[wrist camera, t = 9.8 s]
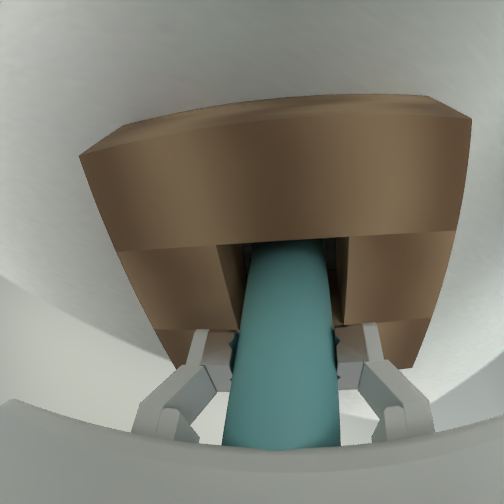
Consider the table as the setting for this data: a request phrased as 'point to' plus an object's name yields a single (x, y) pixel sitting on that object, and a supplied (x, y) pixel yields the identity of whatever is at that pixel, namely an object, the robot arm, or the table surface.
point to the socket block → (286, 207)
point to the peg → (285, 353)
